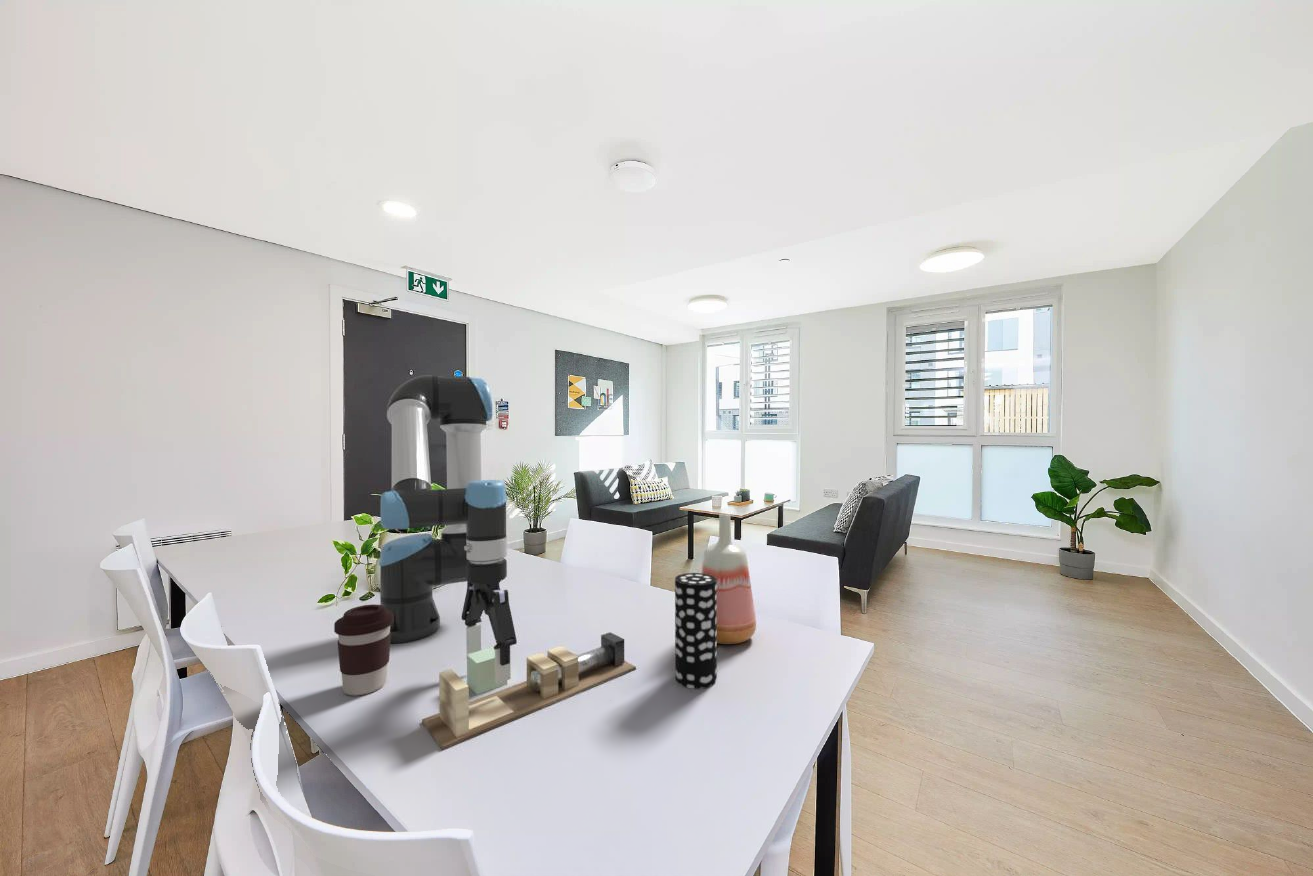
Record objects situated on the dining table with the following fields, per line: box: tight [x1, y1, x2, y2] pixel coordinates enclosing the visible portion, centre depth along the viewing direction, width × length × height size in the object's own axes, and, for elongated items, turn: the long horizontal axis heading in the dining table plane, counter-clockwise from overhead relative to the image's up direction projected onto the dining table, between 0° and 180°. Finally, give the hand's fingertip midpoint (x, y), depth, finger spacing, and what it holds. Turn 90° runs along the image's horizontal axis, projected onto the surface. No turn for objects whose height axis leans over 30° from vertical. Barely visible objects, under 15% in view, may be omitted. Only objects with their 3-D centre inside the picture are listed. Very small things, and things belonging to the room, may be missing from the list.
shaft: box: [530, 632, 625, 691], centre depth 99 cm, size 5×19×5 cm, turn 132°
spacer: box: [466, 646, 508, 696], centre depth 96 cm, size 5×6×6 cm
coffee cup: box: [333, 604, 394, 696], centre depth 95 cm, size 10×10×15 cm
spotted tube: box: [674, 572, 718, 690], centre depth 98 cm, size 8×8×20 cm
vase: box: [701, 513, 757, 645], centre depth 118 cm, size 14×14×30 cm
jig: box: [421, 645, 637, 751], centre depth 93 cm, size 10×39×8 cm, turn 132°
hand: (487, 668), depth 96 cm, fingers open, 13 cm apart
